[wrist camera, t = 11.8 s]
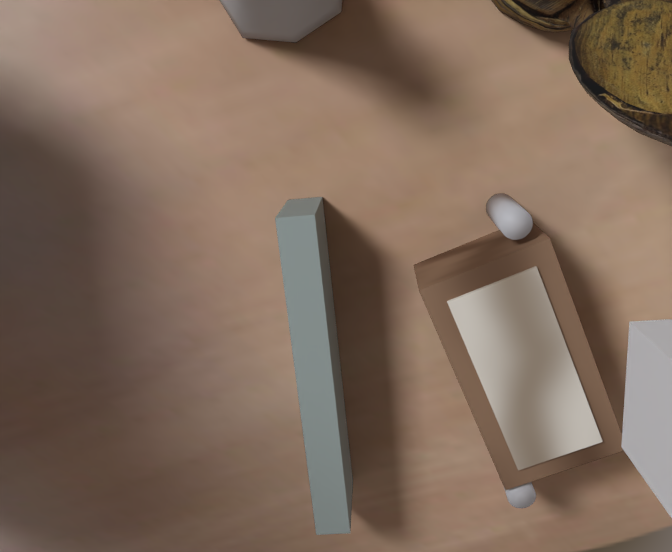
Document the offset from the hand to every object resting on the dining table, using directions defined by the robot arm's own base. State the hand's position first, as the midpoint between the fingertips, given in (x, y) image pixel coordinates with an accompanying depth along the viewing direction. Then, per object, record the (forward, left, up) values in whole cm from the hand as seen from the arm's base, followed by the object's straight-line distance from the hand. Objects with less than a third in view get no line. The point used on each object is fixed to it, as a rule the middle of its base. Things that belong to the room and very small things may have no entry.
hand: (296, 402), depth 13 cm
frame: (+9, -10, -25) cm, 29 cm away
